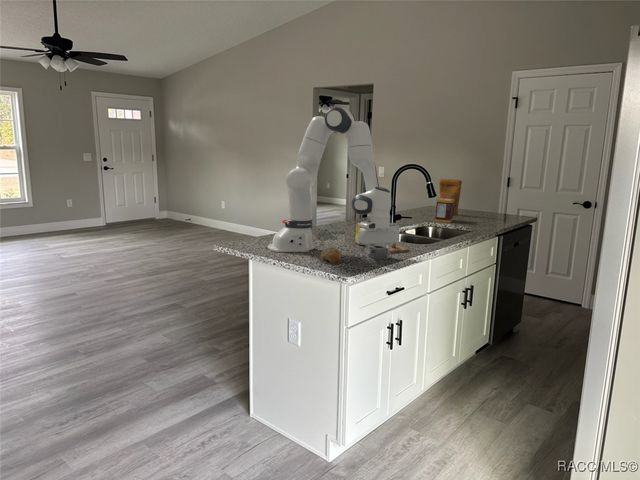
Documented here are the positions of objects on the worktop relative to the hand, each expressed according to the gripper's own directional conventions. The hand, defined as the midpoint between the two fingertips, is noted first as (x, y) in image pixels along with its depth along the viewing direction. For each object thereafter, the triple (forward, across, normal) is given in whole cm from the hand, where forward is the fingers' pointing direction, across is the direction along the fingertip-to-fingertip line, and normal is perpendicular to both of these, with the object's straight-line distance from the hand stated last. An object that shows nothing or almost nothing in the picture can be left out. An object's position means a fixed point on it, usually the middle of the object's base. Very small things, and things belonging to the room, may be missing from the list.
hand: (378, 253), depth 212 cm
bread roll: (+2, +24, +1) cm, 24 cm away
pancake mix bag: (+2, -129, -113) cm, 172 cm away
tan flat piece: (+2, -16, -12) cm, 20 cm away
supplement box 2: (+2, -106, -88) cm, 138 cm away
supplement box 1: (+2, -7, -28) cm, 29 cm away
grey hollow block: (+2, 0, 0) cm, 2 cm away
